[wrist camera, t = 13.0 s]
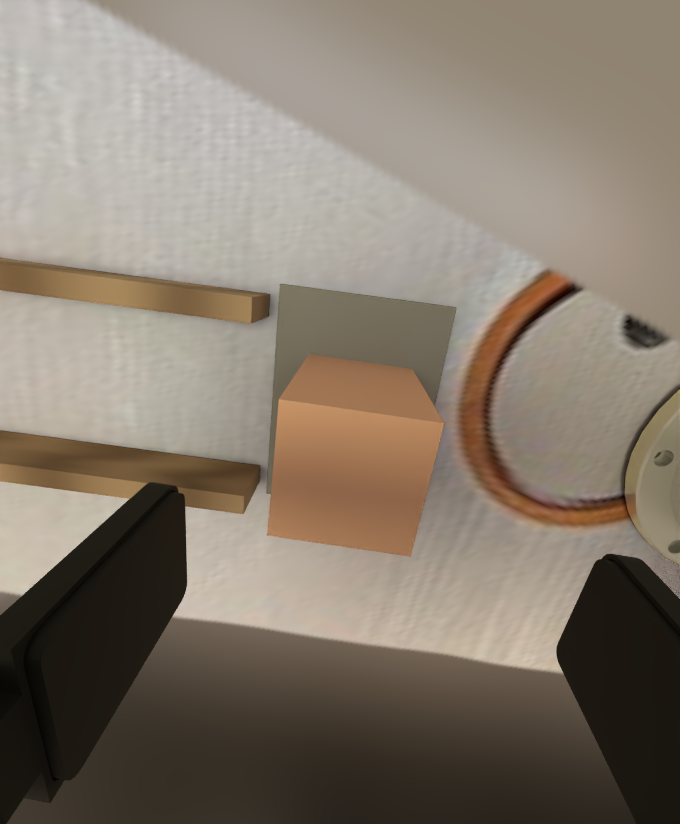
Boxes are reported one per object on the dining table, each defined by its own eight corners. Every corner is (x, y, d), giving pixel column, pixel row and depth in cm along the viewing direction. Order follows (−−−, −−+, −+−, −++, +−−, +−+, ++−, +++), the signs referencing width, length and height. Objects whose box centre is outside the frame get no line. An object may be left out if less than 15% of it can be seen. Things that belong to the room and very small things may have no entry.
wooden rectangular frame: (269, 294, 17) (252, 297, 14) (259, 481, 20) (243, 514, 18) (-137, 240, 17) (-235, 232, 14) (-79, 435, 21) (-149, 460, 18)
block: (412, 369, 18) (444, 423, 11) (393, 461, 19) (410, 556, 13) (308, 353, 18) (279, 398, 11) (298, 447, 19) (267, 535, 13)
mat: (455, 307, 17) (456, 307, 17) (409, 509, 21) (410, 513, 20) (281, 283, 17) (279, 284, 17) (267, 490, 21) (266, 493, 20)
